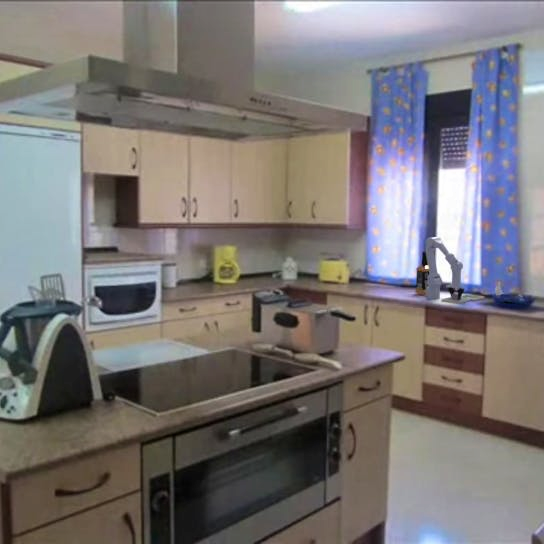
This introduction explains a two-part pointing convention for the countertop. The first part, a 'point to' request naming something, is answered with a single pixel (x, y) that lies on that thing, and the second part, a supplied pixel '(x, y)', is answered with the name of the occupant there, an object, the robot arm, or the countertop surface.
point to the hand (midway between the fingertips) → (455, 299)
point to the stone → (454, 296)
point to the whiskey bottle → (422, 276)
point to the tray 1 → (455, 300)
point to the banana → (499, 289)
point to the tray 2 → (473, 297)
